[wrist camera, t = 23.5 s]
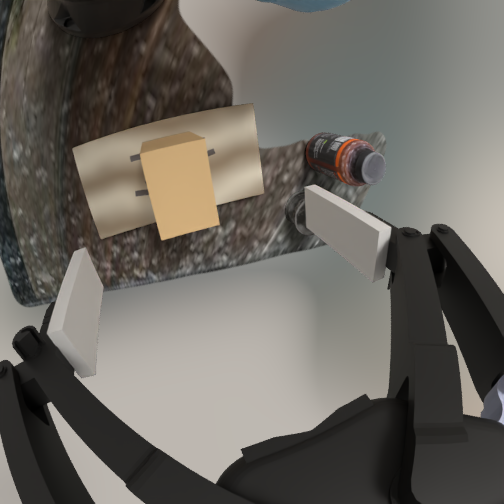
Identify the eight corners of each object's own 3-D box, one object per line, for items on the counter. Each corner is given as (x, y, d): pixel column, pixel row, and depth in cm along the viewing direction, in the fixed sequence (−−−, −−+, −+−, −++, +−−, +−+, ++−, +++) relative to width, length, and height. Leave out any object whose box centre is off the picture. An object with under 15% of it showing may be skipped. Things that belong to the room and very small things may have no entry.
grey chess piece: (322, 211, 44) (372, 245, 34) (293, 233, 43) (337, 273, 34) (309, 181, 40) (361, 209, 30) (276, 203, 40) (322, 239, 30)
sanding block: (142, 142, 29) (139, 154, 21) (188, 131, 30) (205, 138, 22) (156, 205, 33) (161, 240, 25) (200, 194, 34) (219, 224, 26)
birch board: (74, 147, 27) (72, 148, 26) (249, 103, 32) (253, 103, 31) (102, 235, 33) (100, 239, 32) (260, 190, 38) (264, 193, 37)
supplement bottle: (334, 173, 41) (385, 196, 32) (300, 169, 39) (350, 192, 30) (341, 135, 38) (396, 149, 29) (307, 128, 36) (361, 139, 27)
